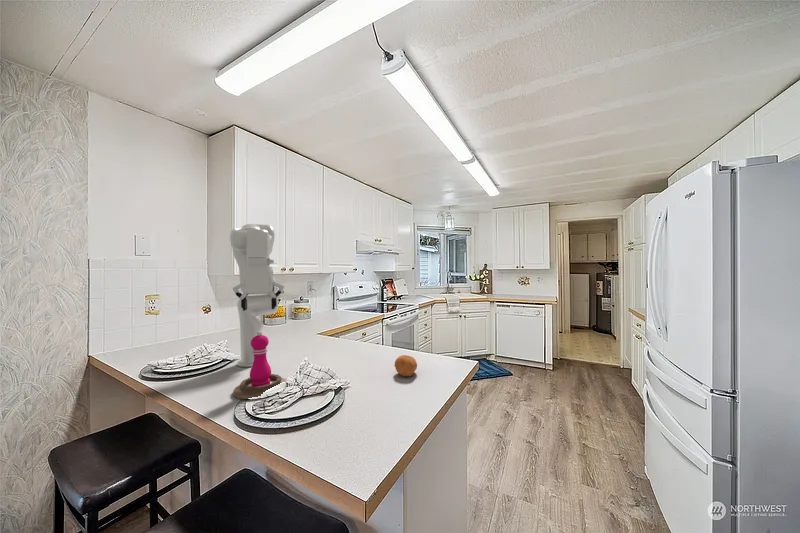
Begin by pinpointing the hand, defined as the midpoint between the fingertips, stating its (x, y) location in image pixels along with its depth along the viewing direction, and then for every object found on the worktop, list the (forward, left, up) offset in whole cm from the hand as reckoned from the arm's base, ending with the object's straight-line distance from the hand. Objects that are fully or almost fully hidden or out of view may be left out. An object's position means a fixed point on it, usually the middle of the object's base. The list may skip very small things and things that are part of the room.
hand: (259, 309), depth 111 cm
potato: (0, +55, -30) cm, 63 cm away
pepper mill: (0, 0, -28) cm, 28 cm away
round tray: (0, 0, -29) cm, 29 cm away
